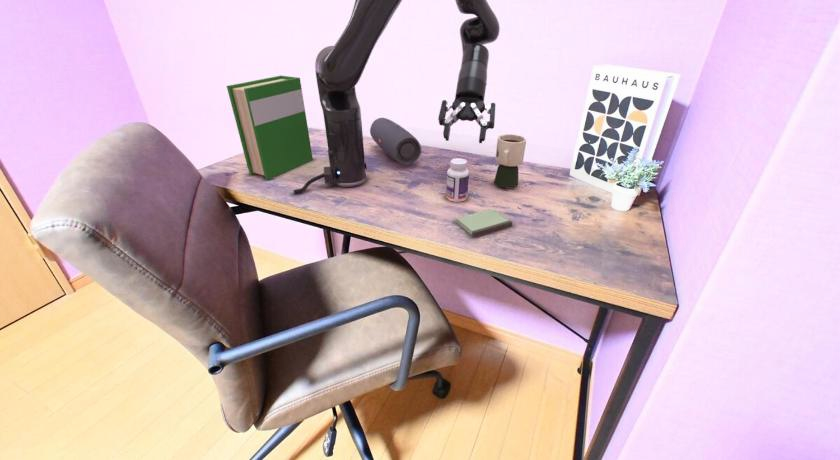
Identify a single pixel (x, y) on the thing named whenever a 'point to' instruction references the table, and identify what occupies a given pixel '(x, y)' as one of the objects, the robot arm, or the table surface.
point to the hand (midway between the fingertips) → (463, 140)
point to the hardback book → (271, 124)
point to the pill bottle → (457, 180)
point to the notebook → (483, 222)
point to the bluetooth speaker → (395, 141)
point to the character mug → (509, 159)
